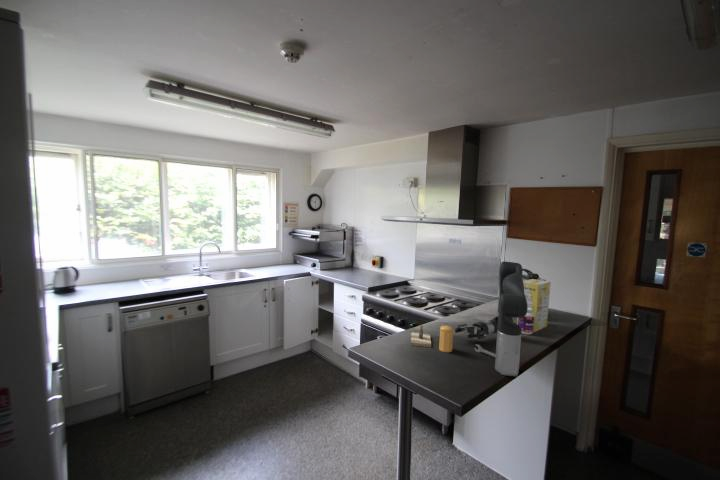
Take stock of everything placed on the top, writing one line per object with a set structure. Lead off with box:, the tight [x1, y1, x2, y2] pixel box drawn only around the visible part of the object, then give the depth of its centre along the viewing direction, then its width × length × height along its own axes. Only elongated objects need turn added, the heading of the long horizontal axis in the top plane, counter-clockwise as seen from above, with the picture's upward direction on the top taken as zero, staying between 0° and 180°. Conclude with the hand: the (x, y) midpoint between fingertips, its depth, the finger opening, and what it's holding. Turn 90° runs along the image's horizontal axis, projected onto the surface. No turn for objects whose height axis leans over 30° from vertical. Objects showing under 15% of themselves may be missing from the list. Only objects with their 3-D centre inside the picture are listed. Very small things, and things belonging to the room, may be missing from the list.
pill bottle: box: [518, 308, 534, 336], centre depth 182 cm, size 8×8×14 cm
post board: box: [410, 324, 432, 348], centre depth 164 cm, size 14×10×8 cm
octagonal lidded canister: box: [438, 325, 454, 353], centre depth 154 cm, size 6×6×11 cm
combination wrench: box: [474, 344, 496, 358], centre depth 147 cm, size 4×1×20 cm
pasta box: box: [516, 279, 551, 333], centre depth 193 cm, size 18×10×28 cm, turn 129°
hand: (461, 333), depth 160 cm, fingers open, 8 cm apart
